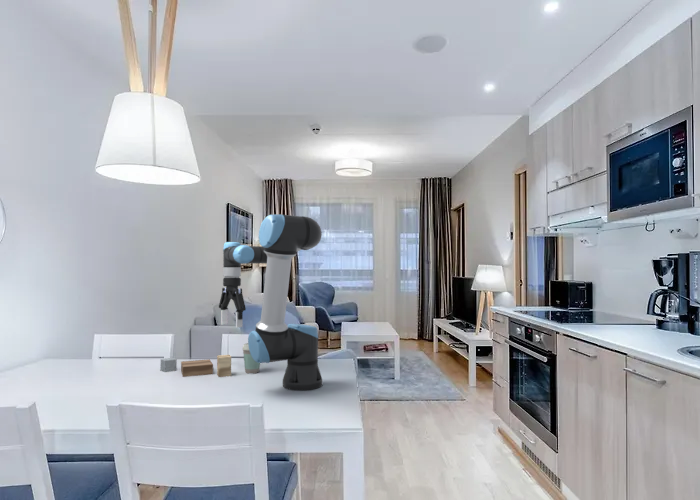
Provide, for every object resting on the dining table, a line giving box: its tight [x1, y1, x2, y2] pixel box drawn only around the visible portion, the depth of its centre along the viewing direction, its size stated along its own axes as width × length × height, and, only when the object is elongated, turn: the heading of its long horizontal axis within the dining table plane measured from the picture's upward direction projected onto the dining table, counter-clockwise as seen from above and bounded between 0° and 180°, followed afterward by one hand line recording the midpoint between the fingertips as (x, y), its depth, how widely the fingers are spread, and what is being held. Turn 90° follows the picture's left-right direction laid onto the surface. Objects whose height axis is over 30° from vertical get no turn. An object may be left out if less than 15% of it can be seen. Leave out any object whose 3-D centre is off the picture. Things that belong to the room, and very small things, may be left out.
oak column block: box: [216, 354, 232, 378], centre depth 188 cm, size 5×5×8 cm
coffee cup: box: [242, 342, 261, 374], centre depth 194 cm, size 8×8×12 cm
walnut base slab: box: [180, 359, 214, 378], centre depth 193 cm, size 12×12×4 cm
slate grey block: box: [160, 357, 178, 373], centre depth 197 cm, size 5×5×5 cm
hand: (231, 325), depth 196 cm, fingers open, 13 cm apart
